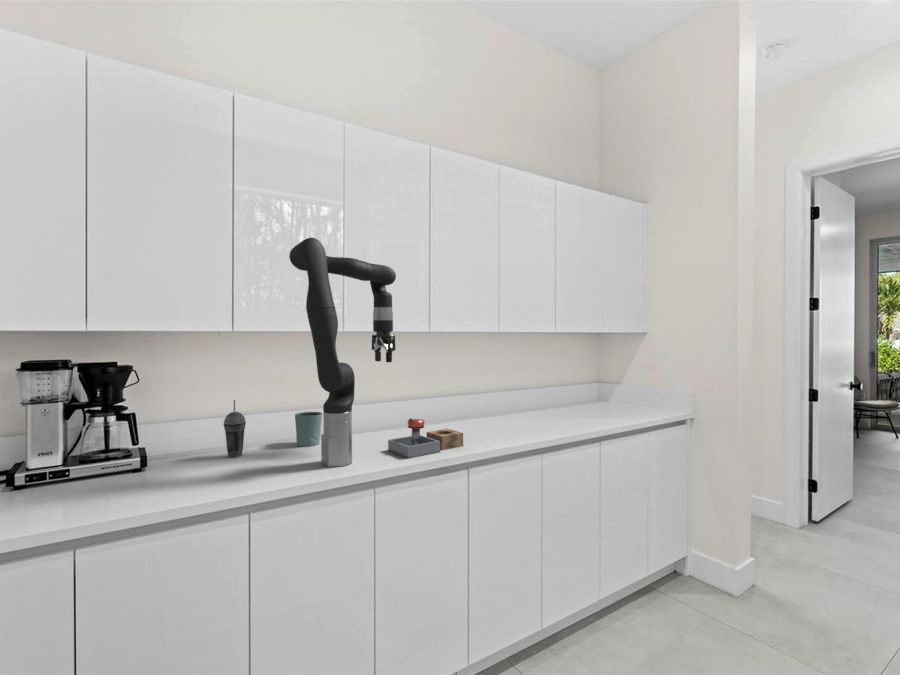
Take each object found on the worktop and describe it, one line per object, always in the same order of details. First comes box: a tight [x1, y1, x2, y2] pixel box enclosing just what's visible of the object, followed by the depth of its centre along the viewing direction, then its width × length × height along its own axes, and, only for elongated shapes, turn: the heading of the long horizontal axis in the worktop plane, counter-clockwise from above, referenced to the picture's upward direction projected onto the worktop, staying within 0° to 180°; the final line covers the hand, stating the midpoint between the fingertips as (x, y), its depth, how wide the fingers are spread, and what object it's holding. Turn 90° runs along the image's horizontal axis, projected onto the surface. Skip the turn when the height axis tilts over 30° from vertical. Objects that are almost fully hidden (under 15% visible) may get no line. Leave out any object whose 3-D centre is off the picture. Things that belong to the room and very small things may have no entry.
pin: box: [407, 417, 425, 446], centre depth 171 cm, size 6×6×11 cm
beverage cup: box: [223, 399, 247, 459], centre depth 165 cm, size 7×7×20 cm
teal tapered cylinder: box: [294, 411, 323, 448], centre depth 182 cm, size 10×10×12 cm
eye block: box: [426, 428, 464, 451], centre depth 178 cm, size 10×10×5 cm
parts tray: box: [387, 434, 441, 459], centre depth 170 cm, size 14×14×4 cm
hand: (383, 361), depth 179 cm, fingers open, 8 cm apart
